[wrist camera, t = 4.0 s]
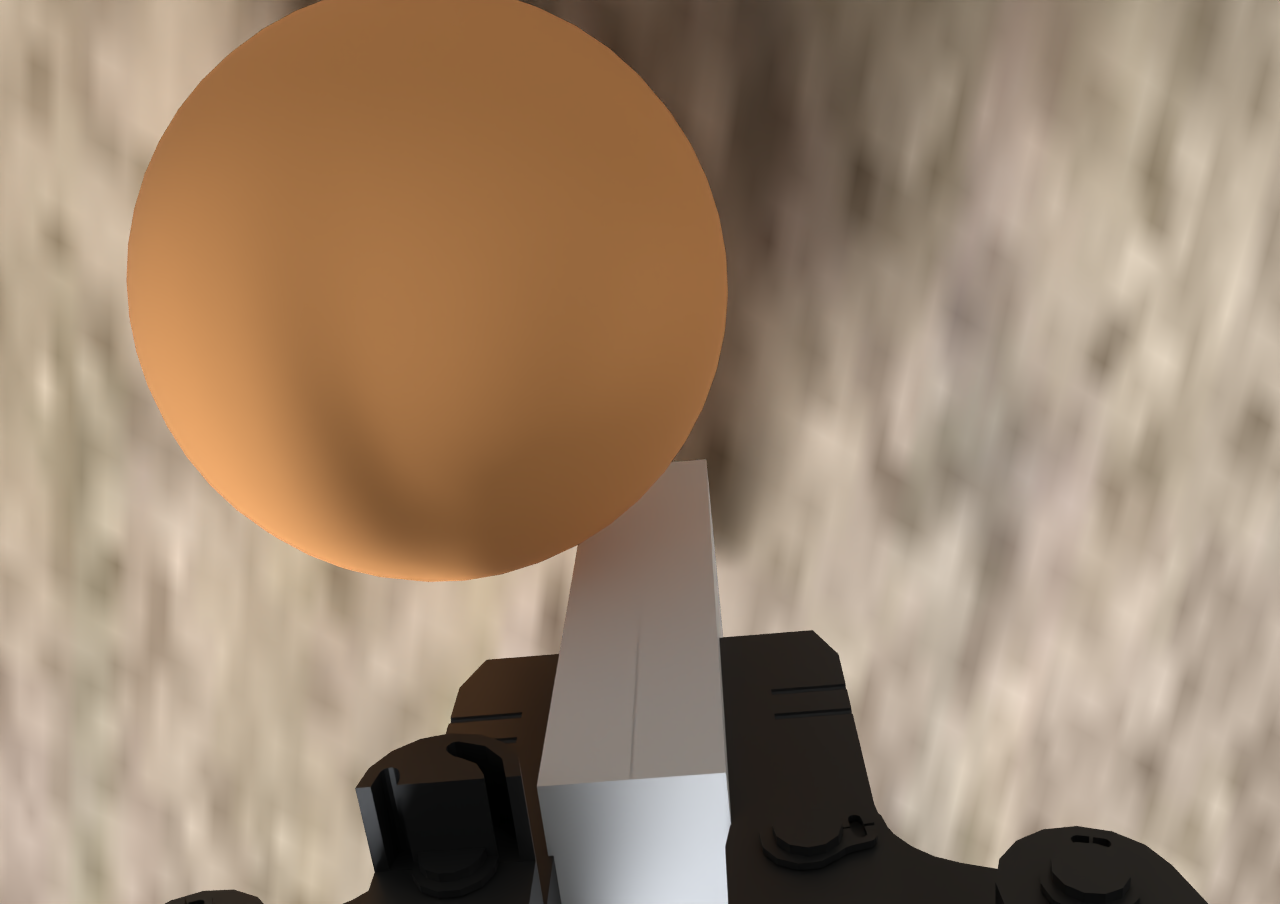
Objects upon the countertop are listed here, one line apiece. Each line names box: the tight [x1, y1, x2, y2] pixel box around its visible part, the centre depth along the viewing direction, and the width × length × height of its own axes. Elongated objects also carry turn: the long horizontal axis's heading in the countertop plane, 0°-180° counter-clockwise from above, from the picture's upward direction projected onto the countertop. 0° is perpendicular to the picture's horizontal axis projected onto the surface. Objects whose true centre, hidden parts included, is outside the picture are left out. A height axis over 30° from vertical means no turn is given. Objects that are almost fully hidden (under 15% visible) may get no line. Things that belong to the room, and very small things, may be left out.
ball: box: [127, 0, 728, 582], centre depth 13 cm, size 6×6×6 cm
